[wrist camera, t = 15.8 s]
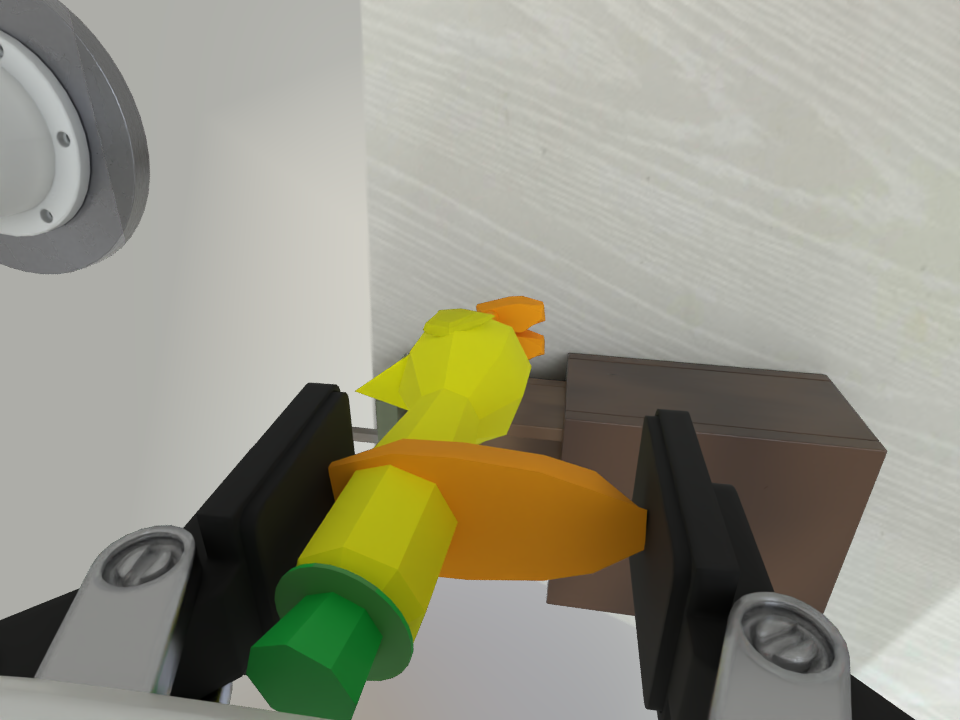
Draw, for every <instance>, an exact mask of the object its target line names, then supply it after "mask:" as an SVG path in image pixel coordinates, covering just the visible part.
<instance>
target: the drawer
mask: <svg viewBox="0 0 960 720" xmlns="http://www.w3.org/2000/svg"><path fill="white" fill-rule="evenodd" d="M407 355H409V354H405V355H404V356H403V357H402V359H403V358H404V357H406V356H407ZM565 396H566V381H557V380H546V379H536V378H528V381H527V384H526V388H525V391H524V395H523V397H522V400H521V402H520V404H519V407H518V409H517V411H516V414H515V416H514V418H513V421H512V423H511V425H510V428H509V430H508V432H507V435H504V436H500V437H497V438H494V439H491V440H488V441H485V442H483V443H481V444H479V445H484V446H490V447H496V448H503V449H509V450H516V451H522V452H528V453H535V454H541V455H546V456H549V457H552V458H555V459H558V460H560V459H561V449H562V440H563V430H564V416H565ZM407 412H408V410H406V409H403V408H400V407H397V406H394V405H392V404H389V403H386V402H383V401H381V400H378V399H376V416H377V429H368V428H359V427H352V433H353V441H360V442H370V443H379V442H380V441H381V439H382V438H383V437H384V436H385V435H386V434H387V433H388V432H389V431H390V430H391V429H392V428H393V427H394V425H395V424H396V423H397V422H398V421H399V420H400V419H401V418H402V417H403V416H404V415H405V414H406V413H407Z"/></svg>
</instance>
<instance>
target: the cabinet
mask: <svg viewBox="0 0 960 720" xmlns="http://www.w3.org/2000/svg"><path fill="white" fill-rule="evenodd" d="M565 381H566V396H565V416H564V430H563V440H562V449H561V459H560V460H561V461H565V462H568V463H571V464H574V465H577V466H580V467H583V468H587V469H590V470H593V471H595V472H597V473H598V474H599V475H600V476H602V477H603V478H604V479H605V480H606V481H608V482H609V483H610V484H611V485H613V486H614V487H615V488H616V489H617V490H619V491H620V492H621V493H622V494H623V495H625V496H626V497H627V498H628V499H630V500H631V501H632V497H633V490H634V483H635V476H636V469H637V462H638V456H639V449H640V442H641V435H642V428H643V422H644V418H645V416H655V413H656V410H657V409H667V410H680V411H688V412H689V414H690V417H691V420H692V423H693V426H694V429H695V432H696V435H697V438H698V441H699V445H700V448H701V451H702V454H703V457H704V460H705V463H706V466H707V469H708V472H709V475H710V479H711V482H712V483H720V484H731V485H732V486H734V487H735V489H736V491H737V493H738V496H739V498H740V501H741V504H742V506H743V509H744V512H745V514H746V517H747V520H748V522H749V525H750V528H751V530H752V533H753V536H754V538H755V541H756V544H757V546H758V549H759V552H760V554H761V557H762V560H763V562H764V565H765V568H766V570H767V573H768V576H769V578H770V581H771V584H772V586H773V589H774V592H775V593H779V594H783V595H787V596H791V597H793V598H795V599H798V600H800V601H802V602H804V603H807V604H808V605H810V606H811V607H813V608H814V609H816V610H817V611H819V612H820V613H822V614H823V613H824V611H825V608H826V605H827V603H828V600H829V598H830V595H831V593H832V590H833V588H834V585H835V583H836V580H837V578H838V575H839V573H840V570H841V567H842V565H843V562H844V560H845V557H846V555H847V552H848V550H849V547H850V545H851V542H852V540H853V537H854V535H855V532H856V529H857V527H858V524H859V522H860V519H861V517H862V514H863V512H864V509H865V507H866V504H867V502H868V499H869V497H870V494H871V491H872V489H873V486H874V484H875V481H876V479H877V476H878V474H879V471H880V469H881V466H882V464H883V461H884V459H885V456H886V453H887V450H886V449H885V447H884V446H883V445H882V444H881V442H879V440H878V439H877V438H876V436H875V435H874V434H873V433H872V431H871V430H870V429H869V428H868V426H867V425H866V424H865V423H864V421H863V420H862V419H861V417H860V416H859V415H858V414H857V412H856V411H855V410H854V409H853V407H852V406H851V405H850V404H849V402H848V401H847V400H846V399H845V397H844V396H843V395H842V394H841V392H840V391H839V390H838V389H837V387H836V386H835V385H834V384H833V382H831V380H830V379H829V377H828V376H827V375H819V374H808V373H796V372H784V371H773V370H761V369H749V368H738V367H726V366H714V365H703V364H691V363H679V362H668V361H656V360H644V359H633V358H621V357H609V356H598V355H586V354H574V353H569V354H568V360H567V370H566V380H565ZM546 603H548V604H554V605H560V606H567V607H575V608H582V609H589V610H596V611H603V612H611V613H618V614H625V615H632V616H635V611H634V601H633V592H632V582H631V573H630V563H629V557H627V558H625V559H623V560H621V561H619V562H616V563H614V564H612V565H610V566H608V567H606V568H603V569H601V570H599V571H597V572H595V573H592V574H585V575H578V576H571V577H565V578H558V579H551V580H548V586H547V601H546Z"/></svg>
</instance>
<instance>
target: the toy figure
mask: <svg viewBox="0 0 960 720" xmlns="http://www.w3.org/2000/svg"><path fill="white" fill-rule="evenodd" d="M476 309H477V312H476V311H471V310H466V309H448V310H439V311H438V313H437V314H436V315H434V316H433V317H432V318H431V319H430V320H429V321H428V322H426V323H425V326H424V329H423V330H424V331H425V332H424V333H423V334H422V336H421V337H420V338H419V340H418V341H417V343H416V344H415V345H414V347H413V348H412V349H411V351H410V353H409V355H407V356H406V357H404V358H403V359H401V360H400V361H398V362H397V363H395V364H394V365H393V366H391V367H390V368H388V369H387V370H385V371H384V372H382V373H381V374H379V375H378V376H376V377H375V378H373V379H372V380H370V381H369V382H367V383H366V384H365V385H363V386H362V387H360V388H359V389H357V390H356V391H355V392H359V393H361V394H364V395H367V396H369V397H372V398H375V399H378V400H381V401H383V402H386V403H389V404H392V405H394V406H397V407H400V408H403V409H406V410H408V412H407V413H406V414H405V415H404V416H403V417H402V418H401V419H400V420H399V421H398V422H397V423H396V424H395V425H394V427H393V428H392V429H391V430H390V431H389V432H388V433H387V434H386V435H385V436H384V437H383V438H382V439H381V441H380V442H379V443H378V444H377V445H376V446H375V447H374V448H373V449H370V450H367V451H364V452H361V453H358V454H355V455H352V456H349V457H346V458H343V459H340V460H337V461H334V462H331V464H330V465H329V467H328V470H329V476H330V481H331V485H332V490H333V495H334V499H335V503H334V505H333V506H332V508H331V509H330V511H329V512H328V514H327V515H326V517H325V518H324V520H323V521H322V523H321V525H320V526H319V528H318V529H317V531H316V532H315V534H314V535H313V537H312V538H311V540H310V541H309V543H308V544H307V546H306V548H305V549H304V551H303V552H302V554H301V555H300V557H299V558H298V561H297V566H296V567H294V568H292V569H290V570H289V571H288V572H287V573H286V574H285V575H283V577H282V578H281V579H280V581H279V583H278V585H277V587H276V591H275V604H276V610H277V613H278V615H279V617H280V621H278V622H277V623H276V624H275V625H274V626H273V627H272V628H271V629H270V630H269V631H268V632H267V633H266V634H265V635H264V636H263V637H261V638H260V639H259V640H258V641H257V642H256V643H255V644H254V645H253V646H252V647H251V649H250V655H249V660H248V666H247V672H246V675H247V676H248V677H249V679H250V680H251V681H252V683H253V684H254V685H255V686H256V688H257V689H258V691H259V692H260V693H261V695H262V696H263V697H264V699H265V700H266V701H267V703H268V704H269V705H270V707H271V708H273V709H275V710H276V711H278V712H284V713H291V714H298V715H304V716H311V717H318V718H324V719H331V720H351V719H352V716H353V713H354V711H355V708H356V706H357V703H358V701H359V698H360V695H361V693H362V690H363V687H364V685H365V682H366V680H367V681H382V680H386V679H391V678H393V677H395V676H397V675H399V674H400V673H402V671H403V670H404V669H405V668H406V667H407V666H408V664H409V662H410V660H411V657H412V654H413V643H414V640H415V638H416V635H417V633H418V630H419V628H420V625H421V623H422V620H423V618H424V616H425V613H426V610H427V608H428V605H429V602H430V599H431V596H432V593H433V590H434V588H435V585H436V582H437V579H438V577H446V578H455V579H465V580H531V581H544V580H551V579H558V578H565V577H571V576H578V575H585V574H592V573H595V572H597V571H599V570H601V569H603V568H606V567H608V566H610V565H612V564H614V563H616V562H619V561H621V560H623V559H625V558H627V557H629V556H632V555H634V554H636V553H638V552H640V551H643V550H644V546H645V538H646V521H647V510H646V509H643V508H640V507H638V506H637V505H636V504H634V503H633V502H632V501H631V500H630V499H628V498H627V497H626V496H625V495H623V494H622V493H621V492H620V491H619V490H617V489H616V488H615V487H614V486H613V485H611V484H610V483H609V482H608V481H606V480H605V479H604V478H603V477H602V476H600V475H599V474H598V473H597V472H595V471H593V470H590V469H587V468H583V467H580V466H577V465H574V464H571V463H568V462H565V461H561V460H558V459H555V458H552V457H549V456H546V455H541V454H535V453H528V452H522V451H516V450H509V449H503V448H496V447H490V446H484V445H479V444H481V443H483V442H485V441H488V440H491V439H494V438H497V437H500V436H504V435H507V432H508V430H509V428H510V425H511V423H512V421H513V418H514V416H515V414H516V411H517V409H518V407H519V404H520V402H521V400H522V397H523V395H524V391H525V388H526V384H527V381H528V377H529V374H530V371H531V367H532V366H531V364H530V362H529V360H530V359H531V358H533V357H535V356H539V355H544V346H545V340H544V336H543V335H540V334H538V333H535V332H533V331H530V330H527V329H528V328H529V327H531V326H532V325H534V324H537V323H540V322H543V321H545V312H544V304H543V302H542V301H538V300H535V299H531V298H528V297H524V296H512V297H506V298H502V299H498V300H493V301H489V302H485V303H481V304H477V306H476Z"/></svg>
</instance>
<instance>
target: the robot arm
mask: <svg viewBox="0 0 960 720" xmlns="http://www.w3.org/2000/svg"><path fill="white" fill-rule="evenodd" d="M89 178H90V158H89V150H88V145H87V141H86V136H85V132H84V129H83V127H82V124H81V121H80V119H79V116H78V113H77V111H76V109H75V107H74V106H73V104H72V102H71V100H70V98H69V96H68V94H67V93H66V91H65V90H64V88H63V87H62V85H61V84H60V83H59V81H58V80H57V78H56V77H55V76H54V74H53V73H52V72H51V71H50V70H49V68H48V67H47V66H46V65H45V64H44V63H43V62H42V61H41V60H40V59H39V58H38V57H37V56H36V55H35V54H34V53H33V52H32V51H30V50H29V49H28V48H27V47H25V46H24V45H23V44H22V43H20V42H19V41H18V40H17V39H15V38H13V37H11V36H10V35H8V34H6V33H4V32H3V31H1V30H0V234H5V235H11V236H17V237H19V236H34V235H38V234H42V233H46V232H49V231H52V230H54V229H56V228H59V227H61V226H63V225H64V224H65V223H67V222H68V221H69V220H70V219H72V218H73V217H74V216H75V214H76V213H77V211H78V210H79V209H80V207H81V206H82V204H83V201H84V199H85V196H86V193H87V191H88V185H89ZM352 455H355V452H354V443H353V433H352V424H351V415H350V405H349V398H348V395H347V393H346V392H340V389H339V386H337V385H334V384H321V383H308V384H306V385H305V387H304V388H303V389H302V390H301V391H300V392H299V394H298V395H297V396H296V397H295V398H294V399H293V401H292V402H291V403H290V404H289V405H288V407H287V408H286V409H285V410H284V411H283V412H282V414H281V415H280V416H279V417H278V418H277V419H276V421H275V422H274V423H273V424H272V425H271V426H270V428H269V429H268V430H267V431H266V432H265V433H264V435H263V436H262V437H261V438H260V439H259V440H258V442H257V443H256V444H255V445H254V446H253V447H252V448H251V449H250V450H249V452H248V453H247V454H246V455H245V456H244V457H243V459H242V460H241V461H240V462H239V463H238V464H237V466H236V467H235V468H234V469H233V470H232V472H231V473H230V474H229V475H228V476H227V477H226V479H225V480H224V481H223V482H222V483H221V484H220V486H219V487H218V488H217V489H216V490H215V491H214V493H213V494H212V495H211V496H210V497H209V498H208V500H207V501H206V502H205V503H204V504H203V506H202V507H201V508H200V509H199V510H198V511H197V513H196V514H195V515H194V516H193V517H192V518H191V520H190V521H189V522H188V523H187V524H186V525H185V527H184V528H180V527H176V526H172V525H168V526H167V525H166V526H153V527H149V528H144V529H140V530H138V531H135V532H133V533H130V534H127V535H125V536H124V537H122V538H120V539H119V540H117V541H115V542H113V543H112V544H110V545H109V546H108V547H107V548H106V549H105V550H104V551H102V552H101V553H100V554H99V555H98V557H97V558H96V559H95V561H94V562H93V564H92V565H91V567H90V569H89V571H88V573H87V575H86V577H85V579H84V581H83V583H82V585H81V587H80V588H79V589H77V590H74V591H72V592H69V593H67V594H65V595H62V596H59V597H57V598H54V599H52V600H49V601H47V602H44V603H42V604H39V605H37V606H34V607H32V608H29V609H27V610H25V611H22V612H19V613H17V614H14V615H12V616H10V617H7V618H5V619H2V620H0V720H331V719H324V718H318V717H311V716H304V715H298V714H291V713H284V712H277V711H270V710H264V709H257V708H250V707H243V706H235V705H229V704H230V699H231V694H232V682H233V681H234V680H236V679H238V678H240V677H242V675H246V672H247V666H248V660H249V655H250V649H251V647H252V646H253V645H254V644H255V643H256V642H257V641H258V640H259V639H260V638H261V637H263V636H264V635H265V634H266V633H267V632H268V631H269V630H270V629H271V628H272V627H273V626H274V625H275V624H276V623H277V622H278V621H280V617H279V615H278V613H277V610H276V604H275V591H276V587H277V585H278V583H279V581H280V579H281V578H282V577H283V575H285V574H286V573H287V572H288V571H289V570H290V569H292V568H294V567H296V566H297V561H298V558H299V557H300V555H301V554H302V552H303V551H304V549H305V548H306V546H307V544H308V543H309V541H310V540H311V538H312V537H313V535H314V534H315V532H316V531H317V529H318V528H319V526H320V525H321V523H322V521H323V520H324V518H325V517H326V515H327V514H328V512H329V511H330V509H331V508H332V506H333V505H334V503H335V499H334V495H333V490H332V485H331V481H330V476H329V470H328V467H329V465H330V464H331V462H334V461H337V460H340V459H343V458H346V457H349V456H352ZM632 502H633V503H634V504H636V505H637V506H638V507H640V508H643V509H646V510H647V521H646V538H645V546H644V550H643V551H640V552H638V553H636V554H634V555H632V556H629V563H630V573H631V582H632V592H633V601H634V611H635V620H636V630H637V639H638V649H639V659H640V668H641V678H642V687H643V697H644V704H645V708H646V709H650V710H657V715H658V720H915V719H913V718H912V717H911V716H909V715H908V714H906V713H905V712H903V711H902V710H901V709H899V708H898V707H896V706H895V705H893V704H892V703H891V702H889V701H888V700H886V699H885V698H884V697H882V696H881V695H879V694H878V693H876V692H875V691H874V690H872V689H871V688H869V687H868V686H867V685H865V684H864V683H862V682H861V681H859V680H858V679H857V678H855V677H854V676H852V675H851V674H850V656H849V652H848V648H847V644H846V642H845V640H844V638H843V637H842V635H841V634H840V632H839V630H838V629H837V628H836V627H835V626H834V625H833V624H832V623H831V622H830V621H829V620H828V619H827V618H826V617H825V616H824V615H823V614H822V613H820V612H819V611H817V610H816V609H814V608H813V607H811V606H810V605H808V604H807V603H804V602H802V601H800V600H798V599H795V598H793V597H791V596H787V595H783V594H779V593H775V592H774V589H773V586H772V584H771V581H770V578H769V576H768V573H767V570H766V568H765V565H764V562H763V560H762V557H761V554H760V552H759V549H758V546H757V544H756V541H755V538H754V536H753V533H752V530H751V528H750V525H749V522H748V520H747V517H746V514H745V512H744V509H743V506H742V504H741V501H740V498H739V496H738V493H737V491H736V489H735V487H734V486H732V485H731V484H720V483H712V482H711V479H710V475H709V472H708V469H707V466H706V463H705V460H704V457H703V454H702V451H701V448H700V445H699V441H698V438H697V435H696V432H695V429H694V426H693V423H692V420H691V417H690V414H689V412H688V411H680V410H667V409H657V410H656V413H655V416H645V418H644V422H643V428H642V435H641V442H640V449H639V456H638V462H637V469H636V476H635V483H634V490H633V497H632Z"/></svg>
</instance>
